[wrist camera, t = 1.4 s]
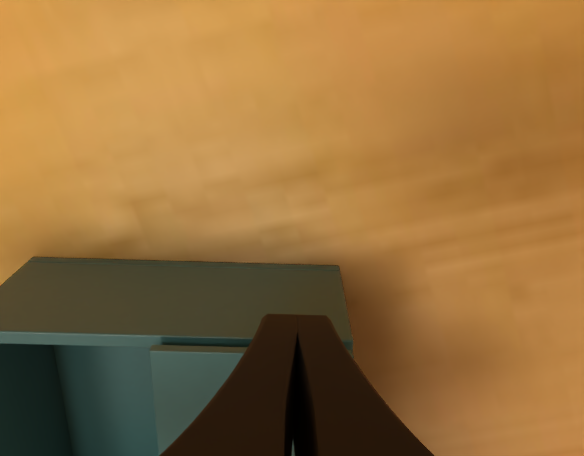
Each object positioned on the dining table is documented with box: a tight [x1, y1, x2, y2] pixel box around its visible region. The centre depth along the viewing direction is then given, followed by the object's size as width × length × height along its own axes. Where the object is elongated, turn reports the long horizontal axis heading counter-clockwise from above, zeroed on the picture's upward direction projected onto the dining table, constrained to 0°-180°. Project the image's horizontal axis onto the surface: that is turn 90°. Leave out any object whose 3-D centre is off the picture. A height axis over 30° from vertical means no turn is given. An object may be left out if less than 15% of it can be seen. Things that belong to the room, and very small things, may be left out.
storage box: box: [0, 257, 354, 456], centre depth 21 cm, size 13×13×6 cm
